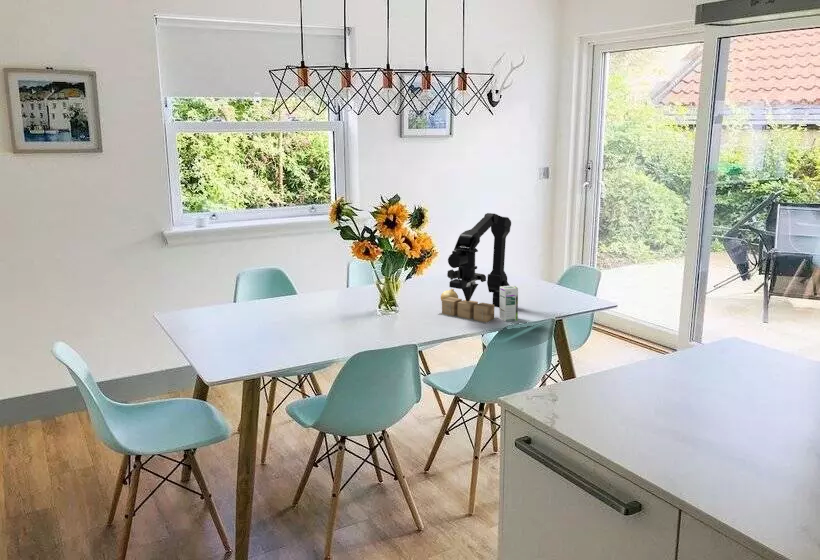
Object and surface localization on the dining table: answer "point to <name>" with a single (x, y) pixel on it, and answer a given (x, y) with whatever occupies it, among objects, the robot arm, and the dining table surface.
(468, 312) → the block plain
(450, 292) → the onion
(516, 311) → the syrup box
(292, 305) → the dining table surface
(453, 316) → the mat
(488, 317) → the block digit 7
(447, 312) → the tan cube
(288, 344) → the dining table surface
